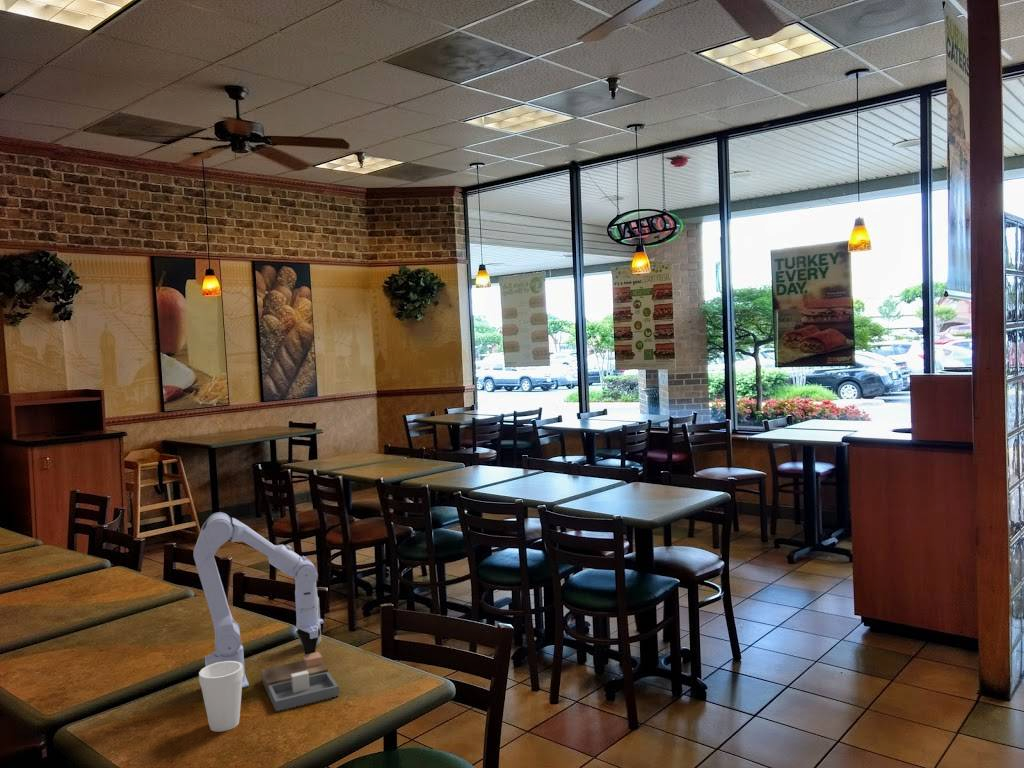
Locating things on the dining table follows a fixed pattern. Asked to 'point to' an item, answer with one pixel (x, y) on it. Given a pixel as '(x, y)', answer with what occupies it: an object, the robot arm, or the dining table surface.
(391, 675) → the dining table surface
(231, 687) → the foam cup
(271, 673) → the board
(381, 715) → the dining table surface
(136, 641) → the dining table surface
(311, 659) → the tile
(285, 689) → the box
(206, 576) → the robot arm
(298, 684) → the tile
